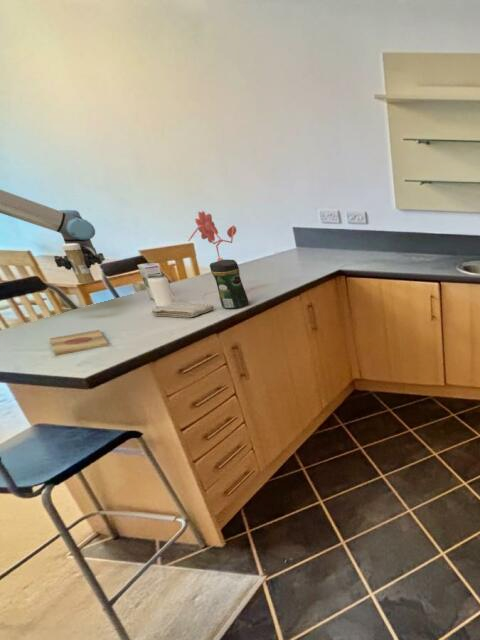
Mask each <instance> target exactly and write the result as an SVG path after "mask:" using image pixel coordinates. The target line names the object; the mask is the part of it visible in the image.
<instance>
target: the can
mask: <svg viewBox="0 0 480 640" xmlns="http://www.w3.org/2000/svg"><path fill="white" fill-rule="evenodd" d="M147 278H148V284H149V287H150V290H151V292H152V295H153V297H154V299H153V300H154V302H155V305H156V307H160V306H166V305H169V304H171V303H174V302H177V301H176V299H175V296H174V293H173V290H172V287H171V284H170V282H169V279H168V278H167V277H166V274H162V275H152V276H148V277H147Z"/></svg>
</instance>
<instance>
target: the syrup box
mask: <svg viewBox="0 0 480 640" xmlns="http://www.w3.org/2000/svg"><path fill="white" fill-rule="evenodd" d="M137 268H138V271H139V273H140V276H141V278H142V281H143V284H144V286H145V289H146V291H147V293H148V296H149V298H150V299H152V300H154V297H153V295H152V292H151V290H150V287H149V284H148V278H147V277H148V276H152V275H163V273H162V271H161V268H160V265H159V264H158V263H153V262H145V263H140V264H137Z"/></svg>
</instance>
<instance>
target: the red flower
mask: <svg viewBox="0 0 480 640" xmlns="http://www.w3.org/2000/svg"><path fill="white" fill-rule="evenodd" d="M197 215H198V218H195V219H194V222H195V223H196V225H197V228H196V229H195V230H194V231H193V233H192V234H191V236H190V237H189V239H188V240H187V241H188V242H190V241H191V239H192V238H193V237H194V236H195V234H196V233H197V231H198V232H200V233H201V234H200V237H201V239H202V240H206V239H207V242H209V243H210V244H211V243H212V245H215V249H216V252H217V257H218V259H217V260H216V262H217V261H221V260H225V259H224V258H222V257H220V253H219V247H218V246H219V245H221V243H223V242H225V243H229V244H232V243H233V239H234V236H235V235H236V233H237V227H236V226H235V225H232V226H230V227H229V228H228V229H227V230H226V234H227V236H228V237H229V238H230V240H225V239H222V238H221V237H220V236H219V235H218V234H219V231H218V229H217V226H216V225H215V222H214V221H213V216H212V214H211V213H207V214H206V212H205V211H204V210H202V211H197ZM216 237H217V238H218V240H216ZM251 289H254V288H252V287H251V288H250V290H251ZM216 292H217V293H218V290H216V291H212V292H211V294H212V293H216ZM208 294H210V292H209V293H207V294H206V293H205V294H204V295H203V297H205V296H207V295H208ZM219 299H220V296H219ZM203 300H204V301H205V300H206V299H205V298H203Z"/></svg>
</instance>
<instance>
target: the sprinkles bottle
mask: <svg viewBox="0 0 480 640" xmlns="http://www.w3.org/2000/svg"><path fill="white" fill-rule="evenodd" d="M61 248H62V250H63V251H64V253H65V256H66V255H67V257H68V260H69V262H70V265H71V267H72V268H71V270H72V271H73V273H74V275H75V277H76V279H77V283H78V284H91V283H95V281H96V280H95V279H94V276H93V274H92V271H91V268H87V266H86V264H85V261H84V259H85V258H84V256H83V253H82V251H81V247H80V245H79V244H77V243H70V244H65V243H62V244H61Z"/></svg>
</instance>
